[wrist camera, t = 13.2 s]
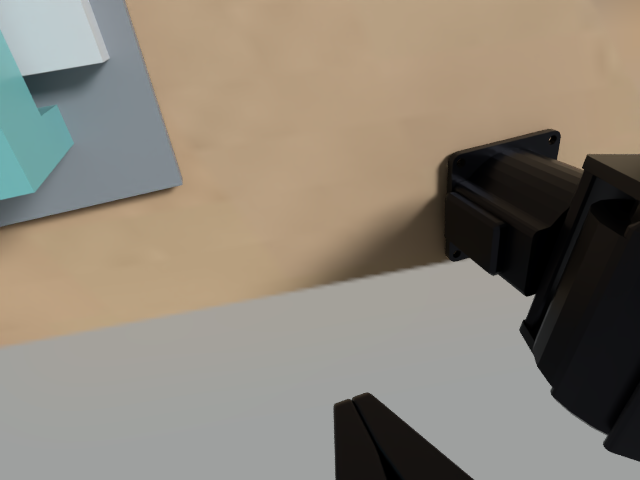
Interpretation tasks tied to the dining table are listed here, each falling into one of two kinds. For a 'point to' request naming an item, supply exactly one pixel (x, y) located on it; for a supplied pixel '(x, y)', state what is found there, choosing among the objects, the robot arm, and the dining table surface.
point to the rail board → (88, 104)
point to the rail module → (26, 133)
